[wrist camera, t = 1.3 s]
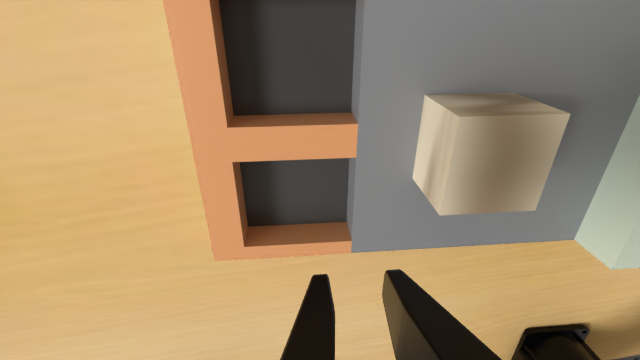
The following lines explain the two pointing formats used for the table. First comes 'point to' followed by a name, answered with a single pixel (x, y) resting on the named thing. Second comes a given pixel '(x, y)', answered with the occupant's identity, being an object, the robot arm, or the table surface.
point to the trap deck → (401, 119)
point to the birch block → (486, 151)
